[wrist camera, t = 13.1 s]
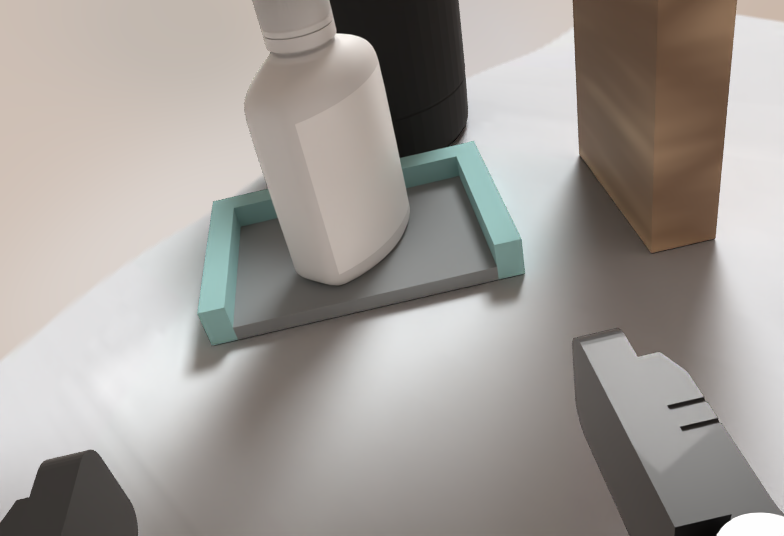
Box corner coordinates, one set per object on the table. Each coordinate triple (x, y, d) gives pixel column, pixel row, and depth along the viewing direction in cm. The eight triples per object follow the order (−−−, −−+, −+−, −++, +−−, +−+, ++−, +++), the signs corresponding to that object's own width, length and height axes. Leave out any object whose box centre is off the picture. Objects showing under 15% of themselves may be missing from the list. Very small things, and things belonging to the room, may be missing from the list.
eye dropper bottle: (443, 241, 29) (384, -84, 22) (316, 302, 27) (207, -26, 20) (392, 198, 32) (326, -97, 25) (275, 250, 31) (170, -48, 24)
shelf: (130, 382, 27) (-230, -242, 15) (161, 245, 34) (-68, -248, 23) (721, 246, 27) (793, -488, 15) (626, 137, 34) (627, -415, 23)
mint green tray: (211, 345, 28) (197, 313, 27) (224, 230, 34) (212, 201, 33) (525, 273, 27) (521, 238, 26) (478, 171, 34) (473, 141, 33)
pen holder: (412, 79, 44) (379, -103, 38) (514, 124, 37) (493, -89, 31) (273, 140, 41) (213, -47, 35) (355, 202, 34) (298, -18, 28)
